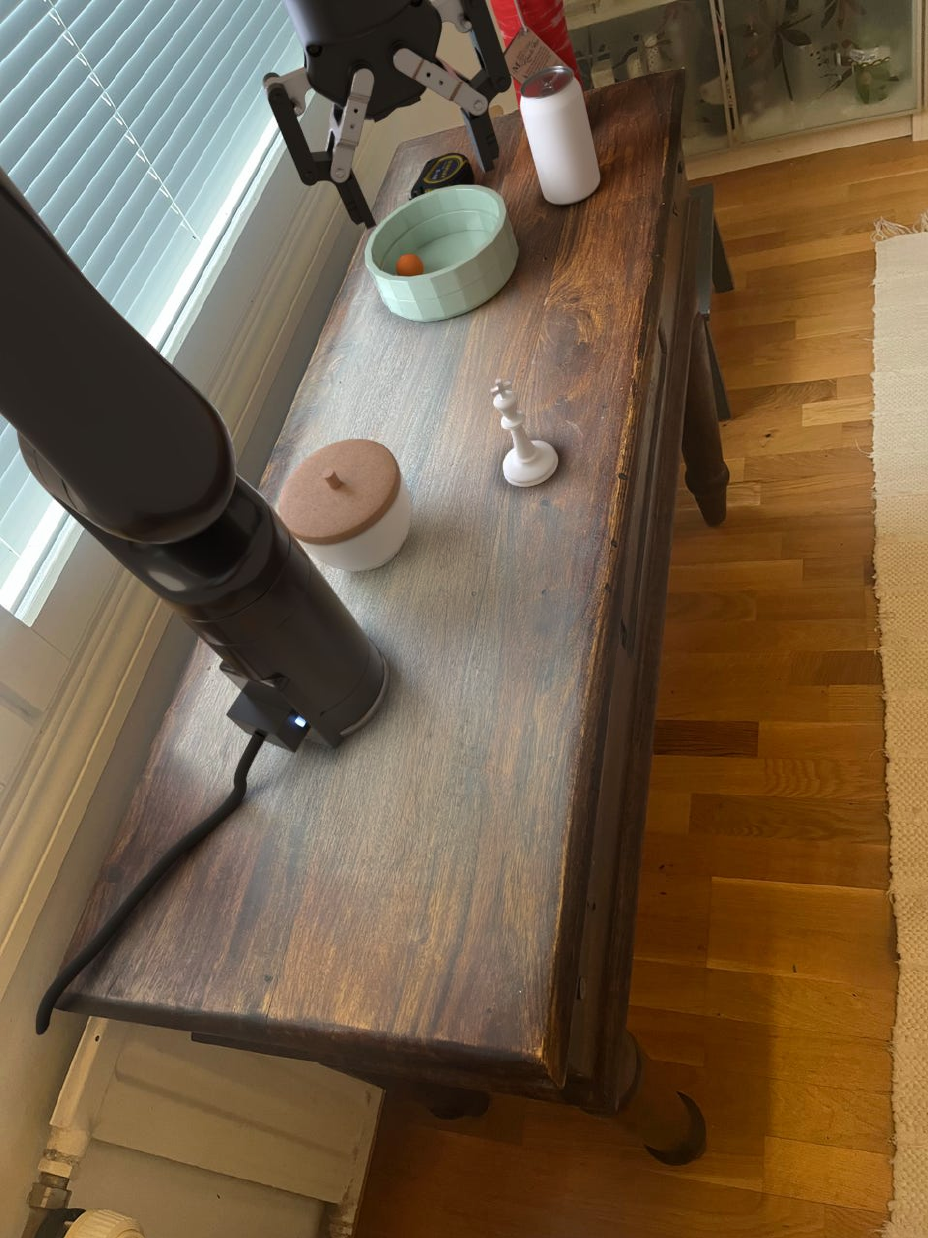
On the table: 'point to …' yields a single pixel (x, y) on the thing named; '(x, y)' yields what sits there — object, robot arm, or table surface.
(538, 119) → the can
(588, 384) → the table surface
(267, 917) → the table surface
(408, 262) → the ball
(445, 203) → the bowl
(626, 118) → the table surface
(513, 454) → the chess piece
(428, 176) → the tape measure
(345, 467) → the trinket box
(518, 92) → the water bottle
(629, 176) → the table surface
